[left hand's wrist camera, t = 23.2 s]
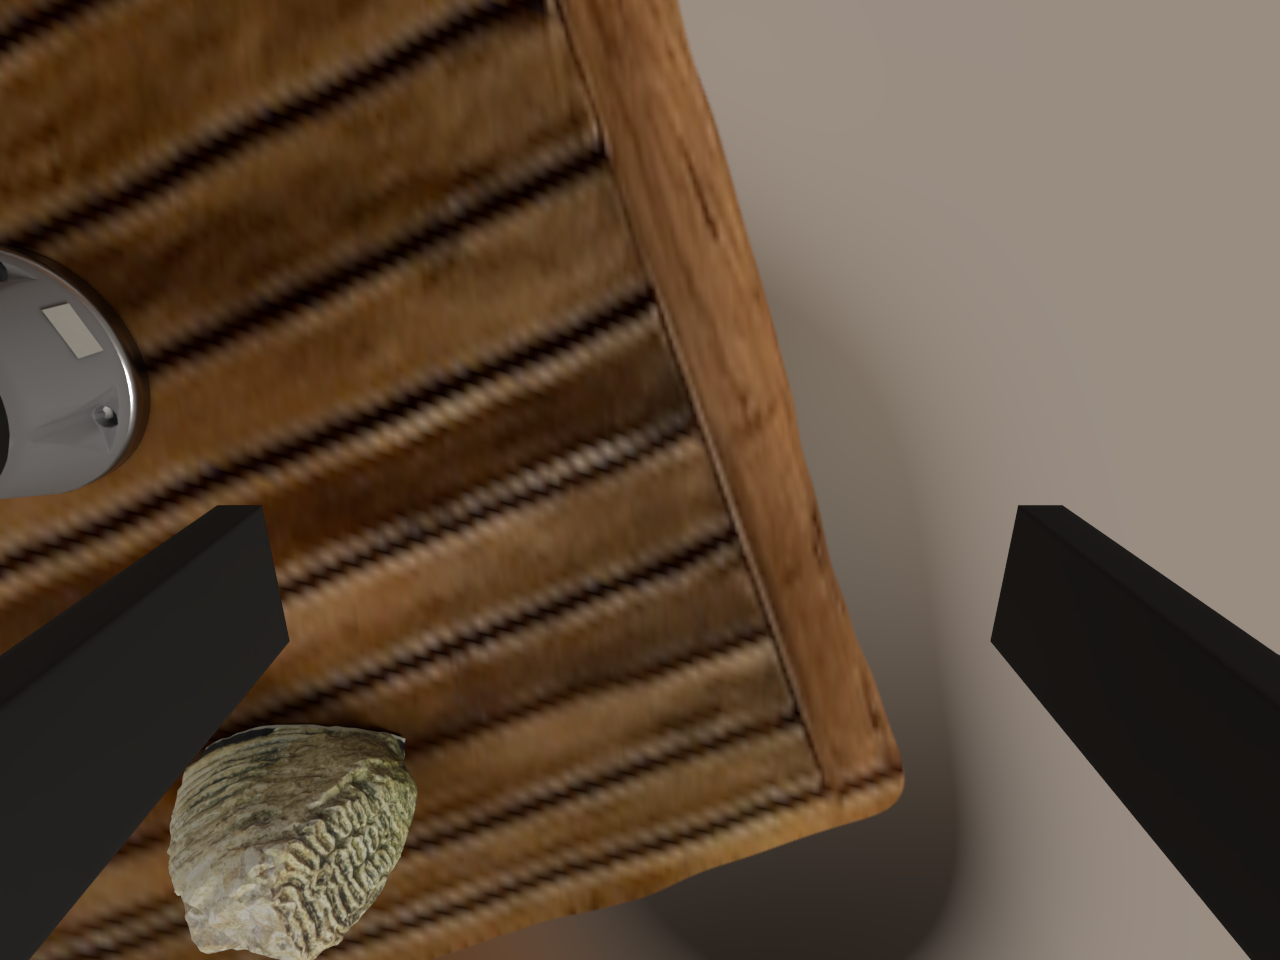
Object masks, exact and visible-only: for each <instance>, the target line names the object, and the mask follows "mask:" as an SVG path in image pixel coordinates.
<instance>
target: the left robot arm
mask: <svg viewBox="0 0 1280 960" xmlns="http://www.w3.org/2000/svg"><path fill="white" fill-rule="evenodd" d="M149 412H150V388H149V381H148V376H147V372H146V368H145V364H144V362H143V359H142V356H141V353H140V351H139V349H138V346H137V344H136V342H135V340H134V338H133V337H132V335H131V333H130V331H129V330H128V328H127V327H126V325H125V324H124V322H123V321H122V319H121V318H120V317H119V315H118V314H117V313H116V311H115V310H114V309H113V308H112V307H111V305H110V304H109V303H108V302H107V301H106V300H105V299H104V298H103V297H102V296H101V295H100V294H99V293H98V292H97V291H96V290H95V289H94V288H93V287H91V286H90V285H89V284H88V283H86V282H85V281H84V280H83V279H81V278H80V277H79V276H77V275H76V274H74V273H73V272H71V271H70V270H68V269H66V268H65V267H63V266H61V265H60V264H58V263H56V262H54V261H52V260H50V259H48V258H46V257H43V256H41V255H38V254H36V253H33V252H30V251H27V250H23V249H20V248H15V247H10V246H5V245H0V499H6V498H17V497H28V496H39V495H51V494H59V493H64V492H68V491H72V490H75V489H78V488H80V487H83V486H85V485H87V484H89V483H91V482H93V481H95V480H97V479H99V478H101V477H103V476H106V475H107V474H109V473H111V472H112V471H114V470H116V469H117V468H118V467H120V466H121V465H122V464H123V463H124V462H125V461H126V460H127V459H128V458H130V456H131V455H132V454H133V452H134V451H135V450H136V448H137V447H138V445H139V443H140V442H141V440H142V437H143V435H144V433H145V430H146V426H147V423H148V418H149ZM288 642H289V636H288V631H287V626H286V621H285V617H284V612H283V607H282V602H281V597H280V592H279V587H278V582H277V578H276V573H275V568H274V563H273V558H272V553H271V548H270V543H269V538H268V534H267V529H266V524H265V519H264V514H263V509H262V505H217V506H216V507H214V508H213V509H212V510H210V511H209V512H207V513H206V514H204V515H203V516H201V517H200V518H199V519H197V520H196V521H194V522H193V523H191V524H190V525H188V526H187V527H186V528H184V529H183V530H181V531H180V532H178V533H177V534H175V535H174V536H173V537H171V538H170V539H168V540H167V541H165V542H164V543H162V544H161V545H160V546H158V547H157V548H155V549H154V550H152V551H151V552H149V553H148V554H147V555H145V556H144V557H142V558H141V559H139V560H138V561H136V562H135V563H134V564H132V565H131V566H129V567H128V568H126V569H125V570H123V571H122V572H121V573H119V574H118V575H116V576H115V577H113V578H112V579H111V580H109V581H108V582H106V583H105V584H103V585H102V586H100V587H99V588H98V589H96V590H95V591H93V592H92V593H90V594H89V595H87V596H86V597H85V598H83V599H82V600H80V601H79V602H77V603H76V604H74V605H73V606H72V607H70V608H69V609H67V610H66V611H64V612H63V613H61V614H60V615H59V616H57V617H56V618H54V619H53V620H51V621H50V622H48V623H47V624H46V625H44V626H43V627H41V628H40V629H38V630H37V631H35V632H34V633H33V634H31V635H30V636H28V637H27V638H25V639H24V640H22V641H21V642H20V643H18V644H17V645H15V646H14V647H12V648H11V649H9V650H8V651H7V652H5V653H4V654H2V655H1V656H0V960H29V959H30V958H31V957H32V955H33V954H34V953H35V952H36V951H37V949H38V948H39V947H40V946H41V944H42V943H43V942H44V941H45V940H46V938H47V937H48V936H49V935H50V933H51V932H52V931H53V930H54V929H55V927H56V926H57V925H58V924H59V922H60V921H61V920H62V919H63V918H64V916H65V915H66V914H67V913H68V911H69V910H70V909H71V908H72V907H73V905H74V904H75V903H76V902H77V900H78V899H79V898H80V897H81V896H82V894H83V893H84V892H85V891H86V889H87V888H88V887H89V886H90V885H91V883H92V882H93V881H94V880H95V878H96V877H97V876H98V875H99V874H100V872H101V871H102V870H103V869H104V867H105V866H106V865H107V864H108V863H109V861H110V860H111V859H112V858H113V856H114V855H115V854H116V853H117V852H118V850H119V849H120V848H121V847H122V845H123V844H124V843H125V842H126V841H127V839H128V838H129V837H130V836H131V834H132V833H133V832H134V831H135V830H136V828H137V827H138V826H139V825H140V823H141V822H142V821H143V820H144V819H145V817H146V816H147V815H148V814H149V812H150V811H151V810H152V809H153V808H154V806H155V805H156V804H157V803H158V801H159V800H160V799H161V798H162V797H163V795H164V794H165V793H166V792H167V790H168V789H169V788H170V787H171V786H172V784H173V783H174V782H175V781H176V779H177V778H178V777H179V776H180V775H181V773H182V772H183V771H184V770H185V768H186V767H187V766H188V765H189V764H190V762H191V761H192V760H193V759H194V757H195V756H196V755H197V754H198V753H199V751H200V750H201V749H202V748H203V746H204V745H205V744H206V743H207V742H208V740H209V739H210V738H211V737H212V735H213V734H214V733H215V732H216V731H217V729H218V728H219V727H220V726H221V724H222V723H223V722H224V721H225V719H226V718H227V717H228V716H229V715H230V713H231V712H232V711H233V710H234V708H235V707H236V706H237V705H238V704H239V702H240V701H241V700H242V699H243V697H244V696H245V695H246V694H247V693H248V691H249V690H250V689H251V688H252V686H253V685H254V684H255V683H256V682H257V680H258V679H259V678H260V677H261V675H262V674H263V673H264V672H265V671H266V669H267V668H268V667H269V666H270V664H271V663H272V662H273V661H274V660H275V658H276V657H277V656H278V655H279V653H280V652H281V651H282V650H283V649H284V647H285V646H286V645H287V644H288ZM991 642H992V644H993V645H994V646H995V647H996V649H997V650H998V651H999V652H1000V653H1001V655H1002V656H1003V657H1004V658H1005V660H1006V661H1007V662H1008V663H1009V664H1010V666H1011V667H1012V668H1013V669H1014V671H1015V672H1016V673H1017V674H1018V675H1019V677H1020V678H1021V679H1022V680H1023V682H1024V683H1025V684H1026V685H1027V686H1028V688H1029V689H1030V690H1031V691H1032V693H1033V694H1034V695H1035V696H1036V697H1037V699H1038V700H1039V701H1040V702H1041V704H1042V705H1043V706H1044V707H1045V708H1046V710H1047V711H1048V712H1049V713H1050V715H1051V716H1052V717H1053V718H1054V720H1055V721H1056V722H1057V723H1058V724H1059V726H1060V727H1061V728H1062V729H1063V730H1064V732H1065V733H1066V734H1067V735H1068V737H1069V738H1070V739H1071V740H1072V742H1073V743H1074V744H1075V745H1076V746H1077V748H1078V749H1079V750H1080V751H1081V752H1082V754H1083V755H1084V756H1085V757H1086V759H1087V760H1088V761H1089V762H1090V763H1091V765H1092V766H1093V767H1094V768H1095V770H1096V771H1097V772H1098V773H1099V775H1100V776H1101V777H1102V778H1103V779H1104V781H1105V782H1106V783H1107V784H1108V786H1109V787H1110V788H1111V789H1112V790H1113V792H1114V793H1115V794H1116V795H1117V796H1118V798H1119V799H1120V800H1121V801H1122V803H1123V804H1124V805H1125V806H1126V807H1127V809H1128V810H1129V811H1130V812H1131V814H1132V815H1133V816H1134V817H1135V818H1136V820H1137V821H1138V822H1139V823H1140V825H1141V826H1142V827H1143V828H1144V830H1145V831H1146V832H1147V833H1148V834H1149V836H1150V837H1151V838H1152V839H1153V841H1154V842H1155V843H1156V844H1157V845H1158V847H1159V848H1160V849H1161V850H1162V851H1163V853H1164V854H1165V855H1166V856H1167V858H1168V859H1169V860H1170V861H1171V863H1172V864H1173V865H1174V866H1175V867H1176V869H1177V870H1178V871H1179V872H1180V873H1181V875H1182V876H1183V877H1184V878H1185V880H1186V881H1187V882H1188V883H1189V885H1190V886H1191V887H1192V888H1193V889H1194V891H1195V892H1196V893H1197V894H1198V896H1199V897H1200V898H1201V899H1202V900H1203V902H1204V903H1205V904H1206V905H1207V907H1208V908H1209V909H1210V910H1211V911H1212V913H1213V914H1214V915H1215V916H1216V918H1217V919H1218V920H1219V921H1220V922H1221V924H1222V925H1223V926H1224V927H1225V929H1226V930H1227V931H1228V932H1229V933H1230V935H1231V936H1232V937H1233V938H1234V940H1235V941H1236V942H1237V943H1238V944H1239V946H1240V947H1241V948H1242V949H1243V950H1244V952H1245V953H1246V954H1247V955H1248V957H1249V958H1250V959H1251V960H1280V655H1278V654H1276V653H1275V652H1273V651H1272V650H1271V649H1269V648H1268V647H1266V646H1265V645H1263V644H1262V643H1260V642H1259V641H1258V640H1256V639H1255V638H1253V637H1252V636H1250V635H1249V634H1247V633H1246V632H1245V631H1243V630H1242V629H1240V628H1239V627H1237V626H1236V625H1234V624H1233V623H1232V622H1230V621H1229V620H1227V619H1226V618H1224V617H1223V616H1221V615H1220V614H1219V613H1217V612H1216V611H1214V610H1213V609H1211V608H1210V607H1208V606H1207V605H1205V604H1204V603H1203V602H1201V601H1200V600H1198V599H1197V598H1195V597H1194V596H1193V595H1191V594H1190V593H1188V592H1187V591H1185V590H1184V589H1182V588H1181V587H1180V586H1178V585H1177V584H1175V583H1174V582H1172V581H1171V580H1169V579H1168V578H1167V577H1165V576H1164V575H1162V574H1161V573H1159V572H1158V571H1156V570H1155V569H1154V568H1152V567H1151V566H1149V565H1148V564H1146V563H1145V562H1144V561H1142V560H1141V559H1139V558H1138V557H1136V556H1135V555H1133V554H1132V553H1131V552H1129V551H1128V550H1126V549H1125V548H1123V547H1122V546H1120V545H1119V544H1118V543H1116V542H1115V541H1113V540H1112V539H1110V538H1109V537H1107V536H1106V535H1105V534H1103V533H1102V532H1100V531H1099V530H1097V529H1096V528H1094V527H1093V526H1092V525H1090V524H1089V523H1087V522H1086V521H1084V520H1083V519H1081V518H1080V517H1078V516H1077V515H1076V514H1074V513H1073V512H1071V511H1070V510H1068V509H1067V508H1066V507H1064V506H1063V505H1018V509H1017V514H1016V519H1015V524H1014V529H1013V534H1012V538H1011V543H1010V548H1009V553H1008V558H1007V563H1006V568H1005V573H1004V578H1003V582H1002V587H1001V592H1000V597H999V602H998V607H997V612H996V617H995V622H994V626H993V631H992V636H991Z"/></svg>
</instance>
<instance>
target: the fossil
mask: <svg viewBox="0 0 1280 960" xmlns="http://www.w3.org/2000/svg"><path fill="white" fill-rule="evenodd" d="M404 742H405V739H404V738H402V737H399V736H396V735H393V734H390V733H386V732H374V731H369V730H363V729H358V728H346V727H339V726H333V727H325V726H319V725H313V724H312V725H271V726H262V727H256V728H253V729H250V730H247V731H243V732H240V733H236V734H234V735H233V736H231V737H229V738H223V739H220V740H218V741H216V742H215V743H213V744H211V745H210V746H208V747H207V748H206V750H205V752H204V753H203V754H202V755H201V756H200V758H199V759H198V760H196V761H195V762H194V763H192V764H191V765H190V766H188V767H187V768H186V769H185V772H184V774H183V777H182V786H181V787H180V788H179V790H178V793H177V799H176V804H175V808H174V810H173V815H172V816H171V818H172V821H171V823H170V833H171V842H170V847H169V849H168V852H167V853H168V854H169V855H170V860H169V873H170V876H171V877H172V882H173V884H174V890H175V893H176V894H177V895H181V897H182V900H183V902H184V906H185V912H186V915H185V920H186V921H187V923H188V926H189V929H190V933H191V938H192V941H193V942H194V943H195V944H196V945H197V947H198V948H199V950H200V951H202V952H204V953H207V954H209V953H215V952H219V951H223V950H227V949H231V948H232V949H235V950H242V949H246V950H249V951H250V952H253V953H257V954H262V955H265V956H268V957H271V958H276V959H281V960H313V959H315V958H316V957H317V956H318V955H319V954H320V953H321V952H322V951H323V950H325V949H327V948H329V947H331V946H334V945H338V944H339V943H340V942H341V941H342V940H343V937H344V934H345V933H346V932H347V931H348V930H349V929H350V927H351V926H352V925H354V924H355V923H356V922H358V921H359V919H360V918H361V917H362V915H363V914H364V913H365V912H366V911H367V909H368V908H369V907H370V906H371V905H372V904H373V903H374V902H375V900H376V899H377V897H378V896H379V894H380V893H381V891H382V889H383V888H384V886H385V883H386V880H387V876H388V874H389V873H390V872H391V871H392V869H393V868H394V867H395V865H396V863H397V862H398V860H399V858H400V856H401V852H402V850H403V846H404V843H405V841H406V839H407V835H408V832H409V828H410V825H411V822H412V819H413V816H414V811H415V805H416V803H417V793H418V790H417V786H416V782H415V779H414V778H413V777H412V776H411V775H410V773H409V772H408V770H407V769H406V767H405V766H404V764H403V759H404V757H405V754H404V749H403V746H404Z"/></svg>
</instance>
